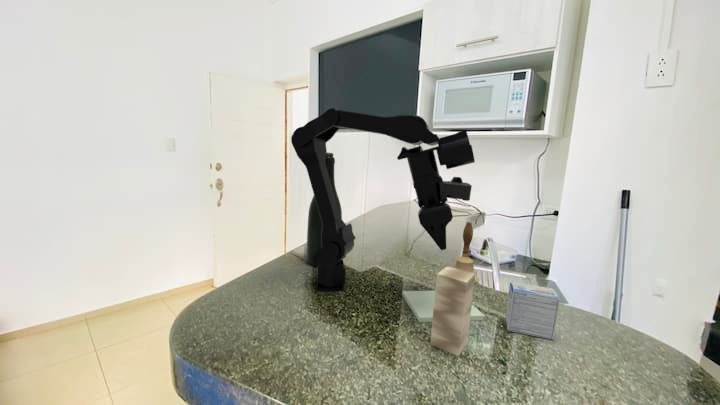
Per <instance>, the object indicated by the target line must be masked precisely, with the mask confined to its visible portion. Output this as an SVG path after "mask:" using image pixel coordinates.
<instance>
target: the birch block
mask: <svg viewBox="0 0 720 405" xmlns="http://www.w3.org/2000/svg"><path fill="white" fill-rule="evenodd" d="M475 274H476V272H475V273H471V272H467V271H463V270H459V269H455V268H454V267H451V266H445V267H444V268H443V269H442V270H440V271H439V272H437V274H436V281H435V288H434V289H435V290H434V291H435V299H434V309H433V320H432V322H431V332H430V341H429V343H430V344H429V345H430V346H433V347H434V348H435V347H436V348H437V349H439V350H442V351H445V352H447V353H449V354H452V355H454V356H456V357H460V355H461V353H462V351H463V350H464V349H465V348H466V345H467V344H468V342H469V341H468V340H469V332H470V325H471V324H470V323H471V321H470V316H471V308H472V304H473V299H474V291H475V290H474V289H475V288H474V287H475V283H474V282H475Z"/></svg>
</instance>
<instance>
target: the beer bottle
mask: <svg viewBox="0 0 720 405" xmlns="http://www.w3.org/2000/svg"><path fill="white" fill-rule="evenodd" d="M325 163H326V167H327V171H328V174H329V178H330V182H331V185H332V189H333V192H334V196H335V199H336V203H337V206H338V210H339V213H340V217H341V219H342V220H343V215H342V214H343V213H342V212H343V210H342V206H341V201H340V197H339V195H338V192H337V189H336V188H337V187H336V182H335V163H336V160H335V157H334V153H333V152H326V161H325ZM307 216H308V218H307V230H306V231H307V232H306V254H305V258H306V262H307V263H308V264H309V265H311V266H313V267H314V266H315V267H317V266H316V265H314V262H313V258H312V257H313V256H314V255H315V254H316V253H317V252H319V251H320V250H321V249H322V242H321V233H322V221H321V217H320V214H319V210H318V207H317V203H316V200H315V196H314V195H313V197H312V198H311V201H310V204H309V208H308V215H307Z"/></svg>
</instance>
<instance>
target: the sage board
mask: <svg viewBox="0 0 720 405" xmlns="http://www.w3.org/2000/svg"><path fill="white" fill-rule="evenodd" d="M401 296H402V297H403V299H404V300H405V302H406V303H407V305H408V307H409V308H410V309H411V312H412V313H413V314H414V317H415V318H416V319H417V320H418V322H419V323H432V320H433V309H434V299H435V290H403V291H402V292H401ZM472 321H485V314H483V313H482V312H481V311H480V310H479V309H478V308H477V307H476V306H475V305H473V303H472V308H471V316H470V322H472Z"/></svg>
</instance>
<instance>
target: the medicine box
mask: <svg viewBox="0 0 720 405" xmlns="http://www.w3.org/2000/svg"><path fill="white" fill-rule="evenodd" d="M508 289H509V290H508V293H507V294H508V296H507V305H506V309H505V310H506V312H505V323H506V327H507V328H506V329H507V331H509V332H514V333H518V334H523V335H528V336H533V337H538V338H542V339H546V340H547V339H548V340H552V341H554V340H555V332H556V329H557V328H556V326H557V320H558V314H559V309H560V303H561V302H560V301H561V298H560V297H559V295H558V293H557V292H556V291H555V290H554V288H550V287H546V286H539V285H534V284H533V285H532V284H528V283H520V282H514V281H510V282H509V288H508Z"/></svg>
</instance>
